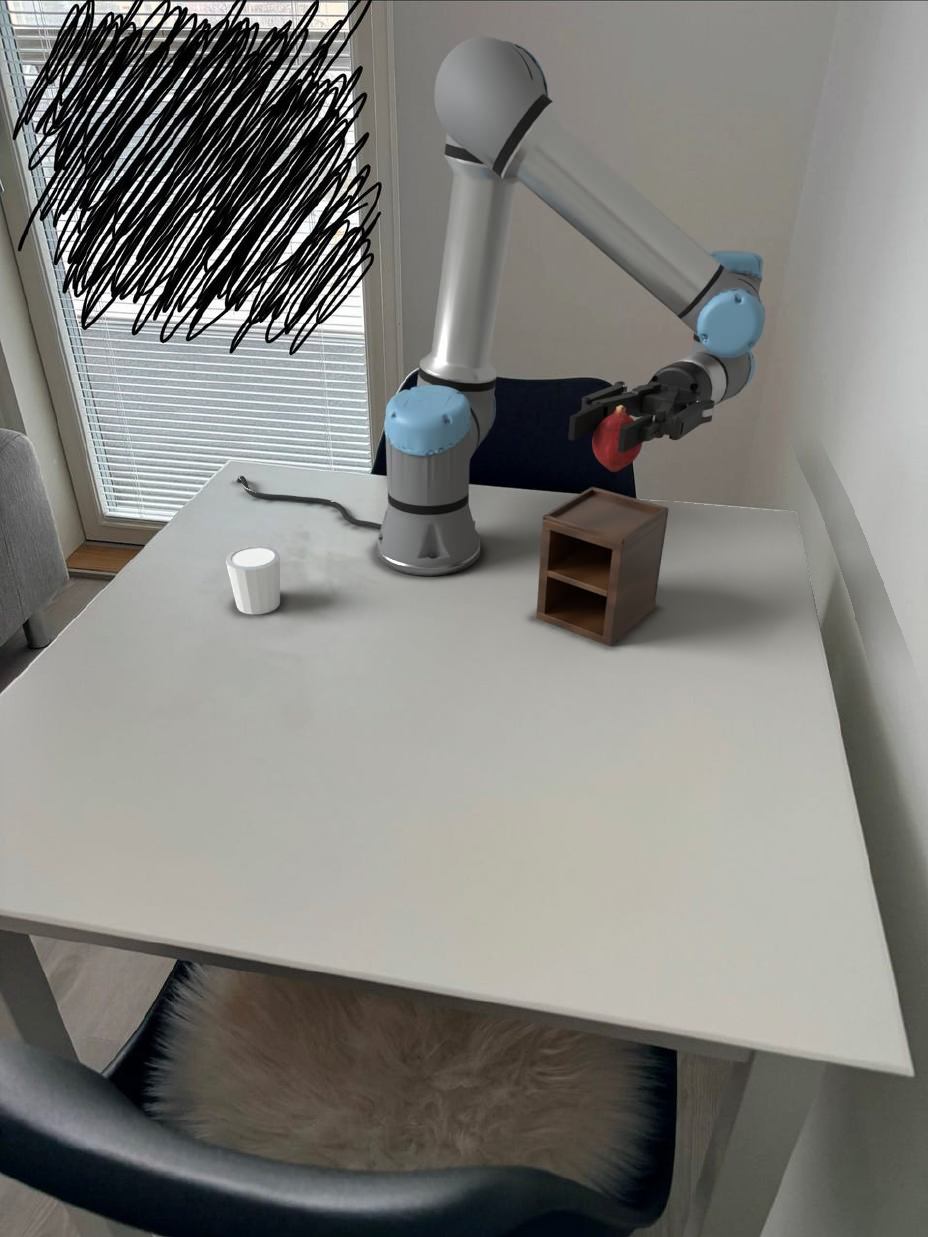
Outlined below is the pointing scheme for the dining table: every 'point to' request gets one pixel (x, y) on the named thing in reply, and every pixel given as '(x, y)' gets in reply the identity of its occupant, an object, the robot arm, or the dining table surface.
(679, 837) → the dining table surface
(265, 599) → the shot glass
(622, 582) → the box
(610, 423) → the onion
